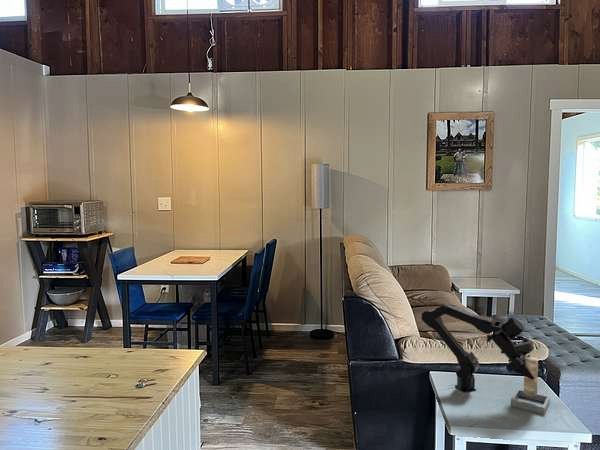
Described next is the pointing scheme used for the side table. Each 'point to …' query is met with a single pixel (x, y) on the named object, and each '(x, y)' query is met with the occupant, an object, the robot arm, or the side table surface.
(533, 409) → the tray
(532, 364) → the tan wooden tall block
